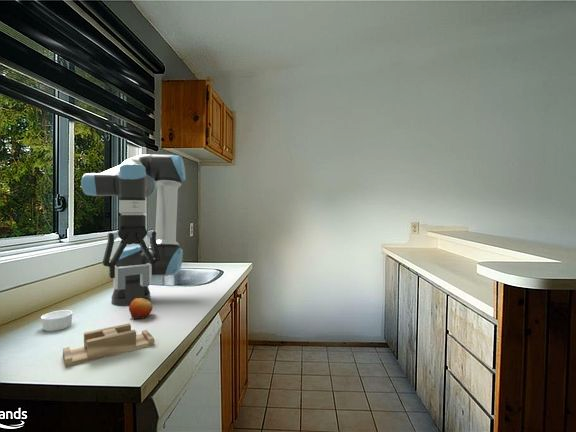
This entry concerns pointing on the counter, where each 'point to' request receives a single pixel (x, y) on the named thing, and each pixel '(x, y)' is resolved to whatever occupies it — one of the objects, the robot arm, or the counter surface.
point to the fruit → (140, 308)
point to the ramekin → (56, 320)
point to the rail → (107, 344)
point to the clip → (133, 270)
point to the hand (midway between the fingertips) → (132, 286)
